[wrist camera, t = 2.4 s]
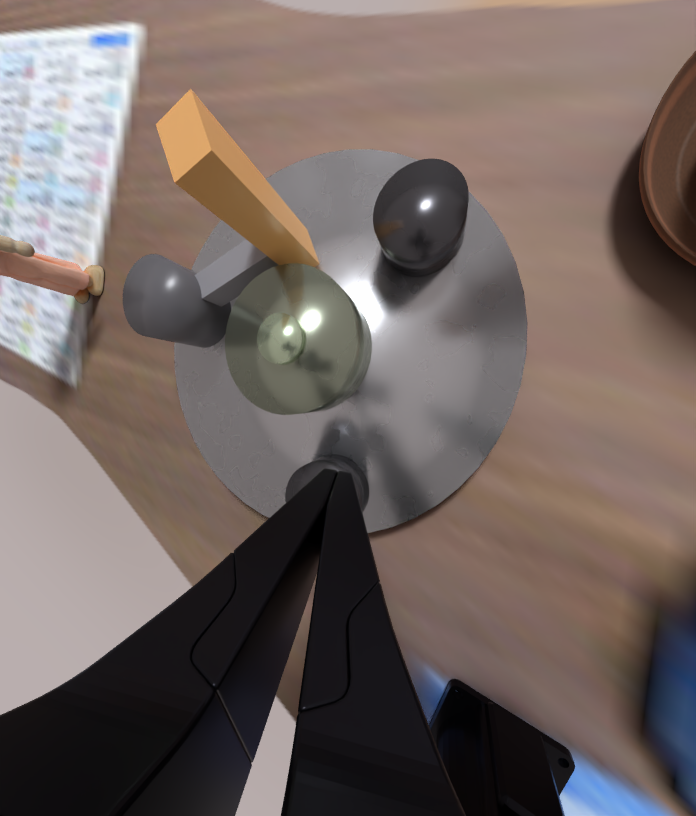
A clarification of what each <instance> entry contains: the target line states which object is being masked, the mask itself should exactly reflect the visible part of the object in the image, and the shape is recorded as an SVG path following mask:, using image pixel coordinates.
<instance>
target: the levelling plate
mask: <svg viewBox="0 0 696 816" xmlns="http://www.w3.org/2000/svg"><path fill="white" fill-rule="evenodd" d="M266 180H267V182H268V183H269V184H270V185H271V186H272V188H273V189H274V190H275V191H276V192H277V194H278V195H279V196H280V197H281V198H282V200H283V201H284V202H285V203H286V205H287V206H288V207H289V208H290V209H291V211H292V212H293V213H294V214H295V215H296V217H297V218H298V219H299V220H300V221H301V223H302V224H303V225H304V226H305V227H306V229H307V230H308V233H309V236H310V239H311V241H312V244H313V247H314V250H315V253H316V255H317V258H318V261H319V265H317V266H316V267H312V266H309V265H305V264H298V263H289V264H283V265H279V266H276V267H272V268H270V269H268V270H266V271H264V272H263V273H261V274H260V275H258V276H257V277H255V278H254V279H253V280H252V281H251V282H250V283H249V284H248V285H247V286H246V287H245V288H244V289H243V291H242V292H241V294H240V295H239V296H238V297H236V298H235V299H233V300H232V301H230V303H231V313H230V316H229V319H228V322H227V327H226V334H225V335H224V337H223V338H222V339H221V340H220V341H219V342H218V343H217V344H215V345H213V346H211V347H207V348H201V347H196V346H191V345H186V344H181V343H176V342H175V346H174V351H175V373H176V382H177V389H178V394H179V398H180V403H181V407H182V410H183V413H184V416H185V419H186V423H187V425H188V428H189V430H190V432H191V435H192V437H193V439H194V441H195V443H196V445H197V447H198V449H199V450H200V452H201V454H202V456H203V457H204V459H205V461H206V462H207V463H208V465H209V466H210V468H211V469H212V470H213V472H214V473H215V474H216V476H217V477H218V478H219V479H220V480H221V481H222V482H223V483H224V484H225V485H226V487H227V488H228V489H229V490H230V491H231V492H233V493H234V494H235V495H236V496H237V497H238V498H240V499H241V500H242V501H243V502H244V503H245V504H247V505H249V506H250V507H252V508H253V509H255V510H256V511H258V512H259V513H261V514H262V515H264V516H266V517H268V518H270V517H271V516H272V515H273V514H274V513H276V512H277V511H278V510H279V509H280V508H281V507H282V506H283V505H284V504H285V503H286V502H288V501H289V500H290V499H291V498H292V497H293V496H294V495H295V494H296V493H297V492H298V491H300V490H301V489H302V488H303V487H304V486H305V485H306V484H307V483H308V482H309V481H310V480H312V479H313V478H314V477H315V476H316V475H317V474H318V473H319V472H320V471H321V470H322V469H324V468H328V469H334V470H337V472H338V471H346V472H351V473H352V474H353V478H354V482H355V486H356V490H357V494H358V498H359V501H360V505H361V509H362V513H363V517H364V521H365V525H366V529H367V533H370V532H374V531H379V530H383V529H387V528H391V527H394V526H396V525H399V524H401V523H404V522H406V521H409V520H411V519H414V518H416V517H417V516H419V515H421V514H423V513H424V512H426V511H428V510H429V509H431V508H433V507H435V506H436V505H438V504H439V503H440V502H442V501H443V500H444V499H446V498H447V497H448V496H449V495H451V494H452V493H453V492H454V491H456V490H457V489H458V488H459V487H460V486H461V485H462V484H463V483H464V482H465V481H466V480H467V479H468V478H469V477H470V476H471V475H472V474H473V473H474V472H475V471H476V470H477V469H478V467H479V466H480V465H481V463H482V462H483V461H484V459H485V458H486V456H487V455H488V454H489V452H490V451H491V449H492V448H493V447H494V445H495V444H496V442H497V440H498V438H499V436H500V434H501V432H502V430H503V429H504V427H505V425H506V423H507V421H508V419H509V417H510V415H511V412H512V409H513V406H514V403H515V400H516V397H517V394H518V391H519V388H520V385H521V380H522V374H523V369H524V364H525V358H526V346H527V316H526V307H525V298H524V291H523V287H522V284H521V280H520V276H519V273H518V269H517V266H516V262H515V260H514V258H513V256H512V253H511V251H510V249H509V247H508V245H507V242H506V240H505V238H504V236H503V234H502V233H501V231H500V230H499V228H498V227H497V225H496V224H495V222H494V221H493V219H492V218H491V216H490V215H489V213H488V212H487V210H486V209H485V208H484V207H483V206H482V205H481V204H480V203H479V202H478V201H477V200H476V199H475V198H474V196H473V195H472V194H471V193H470V192H469V191H468V186H467V183H466V180H465V178H464V176H463V175H462V173H461V172H460V171H459V170H458V169H457V168H456V167H455V166H454V165H452V164H450V163H449V162H446V161H443V160H439V159H423V160H417V159H414V158H410V157H407V156H404V155H401V154H398V153H392V152H386V151H379V150H373V149H370V150H342V151H336V152H329V153H323V154H320V155H317V156H314V157H310V158H307V159H304V160H301V161H299V162H296V163H294V164H292V165H290V166H288V167H286V168H283V169H281V170H279V171H278V172H276V173H275V174H273V175H271V176H270V177H268V178H267V179H266ZM244 240H245V238H244V237H243V236H241V235H240V234H239V233H238V232H236V231H235V230H234V229H233V228H231V227H230V226H229V225H228V224H226V223H225V222H224V221H222V220H221V221H220V222H219V223H218V225H217V226H216V227H215V228H214V230H213V231H212V233H211V235H210V236H209V238H208V239H207V241H206V242H205V244H204V246H203V247H202V249H201V251H200V253H199V255H198V257H197V259H196V261H195V263H194V265H193V267H192V270H191V271H193V272H195V273H198V272H200V271H201V270H203V269H204V268H206V267H207V266H208V265H210V264H211V263H213V262H214V261H216V260H217V259H218V258H220V257H221V256H223V255H224V254H226V253H227V252H228V251H230V250H231V249H233V248H234V247H235V246H237V245H238V244H240V243H241V242H243V241H244Z"/></svg>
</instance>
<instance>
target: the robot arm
mask: <svg viewBox="0 0 696 816" xmlns="http://www.w3.org/2000/svg"><path fill="white" fill-rule="evenodd" d="M316 574H317V578H316V585H315V592H314V599H313V607H312V614H311V621H310V628H309V635H308V643H307V650H306V657H305V664H304V671H303V679H302V686H301V693H300V700H299V707H298V713H299V714H298V716H297V722H296V729H295V735H294V742H293V749H292V755H291V762H290V767H289V774H288V779H287V785H286V791H285V797H284V801H283V807H282V813H281V816H565V815H564V812H563V808H562V805H561V801H560V798H559V795H560V794H561V792H562V790H563V788H564V787H565V785H566V783H567V782H568V780H569V778H570V776H571V775H572V773H573V771H574V769H575V765H574V761H573V758H572V756H571V753H570V752H569V750H568V749H567V748H566V747H564V746H563V745H561V744H560V743H558V742H556V741H555V740H553V739H552V738H550V737H548V736H547V735H545V734H544V733H542V732H540V731H539V730H537V729H536V728H534V727H533V726H531V725H529V724H528V723H526V722H525V721H523V720H521V719H520V718H518V717H517V716H515V715H514V714H512V713H510V712H509V711H507V710H506V709H504V708H502V707H501V706H499V705H498V704H496V703H495V702H493V701H491V700H490V699H488V698H487V697H485V696H483V695H482V694H480V693H479V692H477V691H476V690H474V689H472V688H471V687H469V686H468V685H466V684H464V683H463V682H461V681H459V680H455V679H454V680H451V681H450V682H449V684H448V687H447V689H446V691H445V693H444V695H443V697H442V699H441V702H440V704H439V706H438V708H437V710H436V712H435V715H434V717H433V719H432V721H431V723H430V725H428V723H427V720H426V717H425V715H424V712H423V709H422V707H421V704H420V701H419V699H418V696H417V693H416V691H415V688H414V685H413V683H412V680H411V677H410V675H409V672H408V669H407V667H406V664H405V661H404V659H403V656H402V653H401V650H400V647H399V644H398V641H397V638H396V635H395V633H394V630H393V626H392V623H391V619H390V616H389V613H388V609H387V606H386V602H385V598H384V595H383V591H382V587H381V584H380V583H379V582H380V580H379V576H378V572H377V568H376V564H375V560H374V556H373V552H372V548H371V544H370V541H369V537H368V533H367V529H366V525H365V521H364V517H363V513H362V509H361V505H360V501H359V498H358V494H357V490H356V486H355V482H354V478H353V474H352V473H351V472H346V471H338V472H337V470H334V469H328V468H324V469H322V470H321V471H320V472H319V473H318V474H317V475H316V476H315V477H314V478H313V479H312V480H310V481H309V482H308V483H307V484H306V485H305V486H304V487H303V488H302V489H301V490H300V491H298V492H297V493H296V494H295V495H294V496H293V497H292V498H291V499H290V500H289V501H288V502H286V503H285V504H284V505H283V506H282V507H281V508H280V509H279V510H278V511H277V512H276V513H274V514H273V515H272V516H271V517H270V518H269V519H268V520H267V521H266V522H265V523H263V524H262V525H261V526H260V527H259V528H258V529H257V530H256V531H255V532H254V533H253V534H251V535H250V536H249V537H248V538H247V539H246V540H245V541H244V542H243V543H242V544H241V545H239V546H238V547H237V548H236V549H235V550H234V553H230V554H229V555H228V556H227V557H226V558H225V559H224V560H223V561H222V562H221V563H220V564H219V565H217V566H216V567H215V568H214V569H213V570H212V571H211V572H209V573H208V574H207V575H206V576H205V577H204V578H203V579H201V580H200V581H199V582H198V583H197V584H196V585H194V586H193V587H192V588H191V589H189V590H188V591H187V592H186V593H184V594H183V595H182V596H181V597H179V598H178V599H177V600H176V601H175V602H173V603H172V604H171V605H169V606H168V607H167V608H165V609H164V610H163V611H161V612H160V613H159V614H158V615H156V616H155V617H154V618H153V619H151V620H150V621H149V622H147V623H146V624H145V625H143V626H142V627H141V628H140V629H138V630H137V631H136V632H134V633H133V634H132V635H130V636H129V637H128V638H126V639H125V640H124V641H123V642H121V643H120V644H119V645H117V646H116V647H115V648H113V649H112V650H111V651H110V652H108V653H107V654H106V655H104V656H103V657H102V658H100V659H99V660H98V661H96V662H95V663H94V664H92V665H91V666H90V667H88V668H87V669H86V670H84V671H83V672H81V673H79V674H78V675H76V676H75V677H73V678H72V679H70V680H69V681H67V682H65V683H64V684H62V685H60V686H59V687H57V688H55V689H53V690H52V691H50V692H48V693H46V694H44V695H43V696H41V697H38V698H36V699H34V700H32V701H30V702H28V703H26V704H24V705H22V706H19V707H17V708H15V709H13V710H11V711H9V712H6V713H4V714H2V715H0V816H235V814H236V811H237V808H238V805H239V802H240V799H241V796H242V793H243V790H244V787H245V784H246V781H247V778H248V775H249V772H250V769H251V766H252V764H251V762H253V760H254V757H255V754H256V751H257V748H258V745H259V742H260V740H261V737H262V734H263V731H264V728H265V725H266V722H267V719H268V716H269V713H270V710H271V707H272V704H273V701H274V698H275V695H276V692H277V689H278V686H279V683H280V680H281V677H282V674H283V671H284V668H285V666H286V663H287V660H288V657H289V654H290V651H291V648H292V645H293V642H294V639H295V636H296V633H297V630H298V627H299V624H300V621H301V618H302V615H303V612H304V609H305V606H306V603H307V600H308V597H309V594H310V592H311V589H312V586H313V583H314V580H315V577H316ZM455 690H458V691H460V692H457V691H455ZM561 758H564V759H561Z"/></svg>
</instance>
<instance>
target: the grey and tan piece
mask: <svg viewBox="0 0 696 816" xmlns="http://www.w3.org/2000/svg"><path fill="white" fill-rule="evenodd" d="M156 126H157V129H158V133H159V136H160V139H161V142H162V145H163V148H164V151H165V154H166V157H167V160H168V164H169V167H170V170H171V173H172V176H173V179H174V182H175V183H176V184H177V185H178V186H179V187H181V188H182V189H183V190H185V191H186V192H187V193H188V194H190V195H191V196H192V197H193V198H195V199H196V200H197V201H198V202H200V203H201V204H202V205H203V206H205V207H206V208H207V209H209V210H210V211H211V212H212V213H214V214H215V215H216V216H217V217H219V218H220V219H221V220H222V221H224V222H225V223H226V224H228V225H229V226H230V227H231V228H233V229H234V230H235V231H236V232H238V233H239V234H240V235H241V236H243V237H244V238H245V240H244V241H243V242H241V243H240V244H238V245H237V246H235V247H234V248H233V249H231V250H230V251H228V252H227V253H226V254H224V255H223V256H221V257H220V258H218V259H217V260H216V261H214V262H213V263H211V264H210V265H208V266H207V267H206V268H204V269H203V270H201V271H200V272H198V273H195V272H193V271H191V270H189V269H187V268H185V267H183V266H181V265H179V264H177V263H175V262H173V261H171V260H169V259H167V258H165V257H163V256H161V255H158V254H150V255H146V256H144V257H142V258H141V259H139V260H138V261H137V262H136V263H135V264H134V265H133V267H132V268H131V270H130V271H129V273H128V276H127V278H126V281H125V284H124V289H123V307H124V312H125V316H126V318H127V321H128V323H129V324H130V326H131V327H132V328H133V330H135V331H136V332H137V333H138V334H140V335H143V336H147V337H151V338H156V339H161V340H166V341H171V342H176V343H181V344H186V345H191V346H196V347H201V348H207V347H211V346H213V345H215V344H217V343H218V342H219V341H220V340H221V339H222V338H223V337H224V335H225V334H226V327H227V322H228V319H229V316H230V313H231V303H230V301H232V300H233V299H235V298H236V297H238V296H239V295H240V294H241V292H242V291H243V289H244V288H245V287H246V286H247V285H248V284H249V283H250V282H251V281H252V280H253V279H254V278H255V277H257V276H258V275H260V274H261V273H263V272H264V271H266V270H268V269H270V268H272V267H276V266H279V265H283V264H289V263H298V264H305V265H309V266H312V267H316V266H317V265H319V261H318V258H317V255H316V253H315V250H314V247H313V244H312V241H311V239H310V236H309V233H308V230H307V229H306V227H305V226H304V225H303V224H302V223H301V221H300V220H299V219H298V218H297V217H296V215H295V214H294V213H293V212H292V211H291V209H290V208H289V207H288V206H287V205H286V203H285V202H284V201H283V200H282V198H281V197H280V196H279V195H278V194H277V192H276V191H275V190H274V189H273V188H272V186H271V185H270V184H269V183H268V182H267V180H266V179H265V178H264V177H263V175H262V174H261V173H260V172H259V171H258V169H257V168H256V167H255V166H254V165H253V163H252V162H251V161H250V160H249V159H248V157H247V156H246V155H245V154H244V153H243V151H242V150H241V149H240V148H239V146H238V145H237V144H236V143H235V142H234V140H233V139H232V138H231V137H230V136H229V134H228V133H227V132H226V131H225V130H224V128H223V127H222V126H221V125H220V123H219V122H218V121H217V120H216V119H215V117H214V116H213V115H212V114H211V113H210V111H209V110H208V109H207V108H206V107H205V105H204V104H203V103H202V102H201V101H200V99H199V98H198V97H197V96H196V94H195V93H194V92H193V91H192V90H191V89H190V90H189V91H188V92H187V93H186V94H185V95H184V96H183V97H182V98H181V99H180V100H179V101H178V102H177V103H176V104H175V105H174V106H173V107H172V108H171V110H170V111H169V112H168V113H167V114H166V115H165V116H164V117H163V118H162V119H161V120H160V121H159V122H158V123H157V124H156Z"/></svg>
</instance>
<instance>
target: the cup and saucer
mask: <svg viewBox="0 0 696 816" xmlns="http://www.w3.org/2000/svg"><path fill="white" fill-rule="evenodd" d="M639 186H640V193H641V198H642V202H643V205H644V208H645V211H646V214H647V216H648V218H649V220H650V222H651V224H652V226H653V227H654V229H655V230H656V232H657V233H658V234H659V236H660V237H661V238H662V239H663V240H664V242H665V243H666V244H667V245H668V246H669V247H670V248H671V249H673V250H674V251H675V252H676V253H677V254H678V255H679V256H681V257H682V258H684V259H685V260H687V261H688V262H690V263H691V264H693V265H695V266H696V51H695V52H694V53H693V55H692V56H691V57H690V58H689V59H688V60H687V62H686V63H685V64H684V66H683V67H682V68H681V70H680V71H679V72H678V74H677V75H676V76H675V78H674V79H673V81H672V83H671V84H670V86H669V87H668V89H667V91H666V92H665V94H664V95H663V97H662V99H661V101H660V103H659V105H658V107H657V109H656V111H655V113H654V115H653V118H652V120H651V123H650V125H649V128H648V130H647V133H646V136H645V140H644V143H643V146H642V151H641V157H640V164H639Z"/></svg>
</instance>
